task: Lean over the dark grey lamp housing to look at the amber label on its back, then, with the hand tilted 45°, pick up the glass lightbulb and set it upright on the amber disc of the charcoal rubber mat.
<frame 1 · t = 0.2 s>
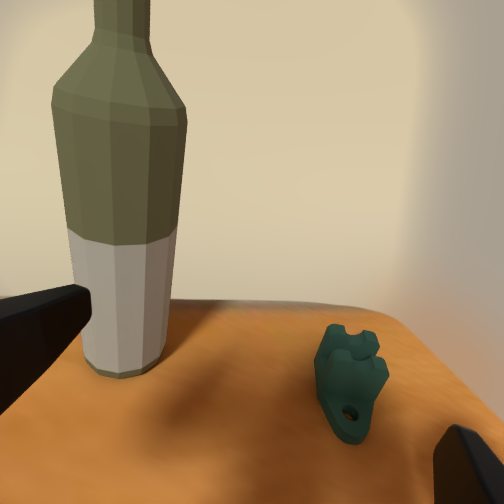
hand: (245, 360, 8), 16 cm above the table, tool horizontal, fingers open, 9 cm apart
bottle: (126, 354, 27), on the table
mount: (338, 386, 29), on the table
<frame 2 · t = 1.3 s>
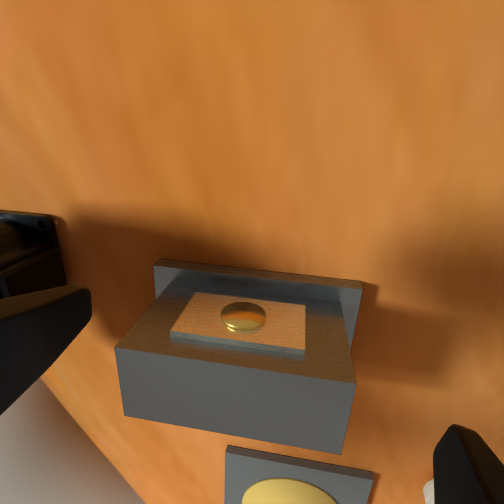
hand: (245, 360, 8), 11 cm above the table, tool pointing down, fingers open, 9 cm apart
lamp housing: (253, 312, 20), on the table
parts mat: (290, 502, 26), on the table
lightbulb: (437, 476, 23), on the table
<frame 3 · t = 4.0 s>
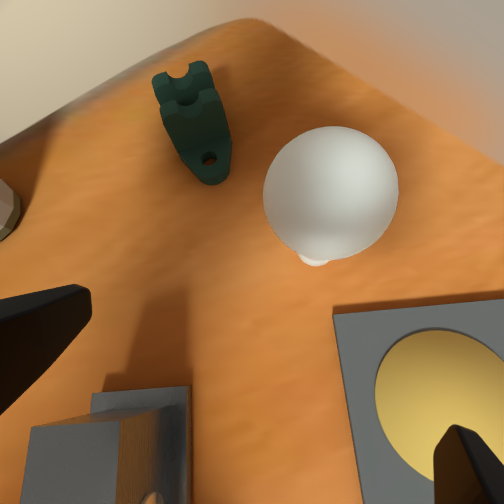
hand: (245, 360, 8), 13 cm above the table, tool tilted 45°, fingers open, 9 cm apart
lamp housing: (141, 501, 18), on the table
parts mat: (443, 402, 18), on the table
lightbulb: (314, 253, 22), on the table
mount: (202, 136, 28), on the table
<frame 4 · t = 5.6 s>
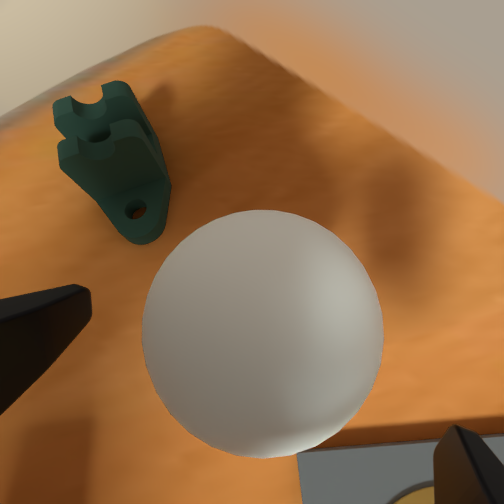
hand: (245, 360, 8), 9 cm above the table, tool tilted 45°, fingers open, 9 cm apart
lightbulb: (273, 347, 16), on the table
mount: (135, 175, 21), on the table
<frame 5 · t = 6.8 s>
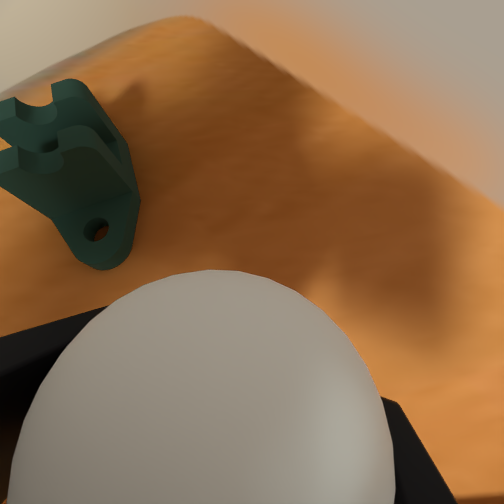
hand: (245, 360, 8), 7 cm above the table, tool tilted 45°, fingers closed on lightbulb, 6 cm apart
lightbulb: (254, 399, 13), on the table, touching gripper
mount: (101, 188, 19), on the table
when the fingers open (8 cm above the table, at t = 11.1 s): lightbulb stays where it is, resting on parts mat.
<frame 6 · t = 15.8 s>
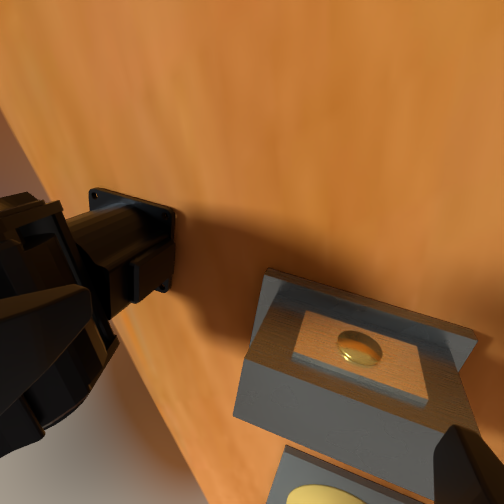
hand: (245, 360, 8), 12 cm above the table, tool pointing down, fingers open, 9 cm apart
lamp housing: (348, 335, 20), on the table
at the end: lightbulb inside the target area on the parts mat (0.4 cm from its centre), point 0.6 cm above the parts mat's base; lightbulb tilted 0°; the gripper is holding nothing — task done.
